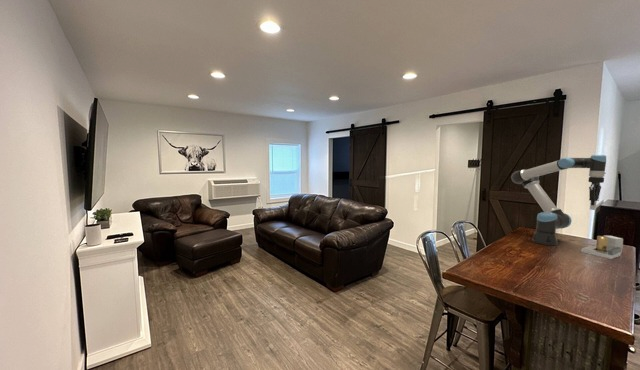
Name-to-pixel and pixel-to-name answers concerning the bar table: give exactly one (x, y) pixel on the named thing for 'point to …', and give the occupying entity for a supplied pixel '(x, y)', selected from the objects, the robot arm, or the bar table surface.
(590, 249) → the plate
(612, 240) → the small box
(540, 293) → the bar table surface
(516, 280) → the bar table surface
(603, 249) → the bushing
